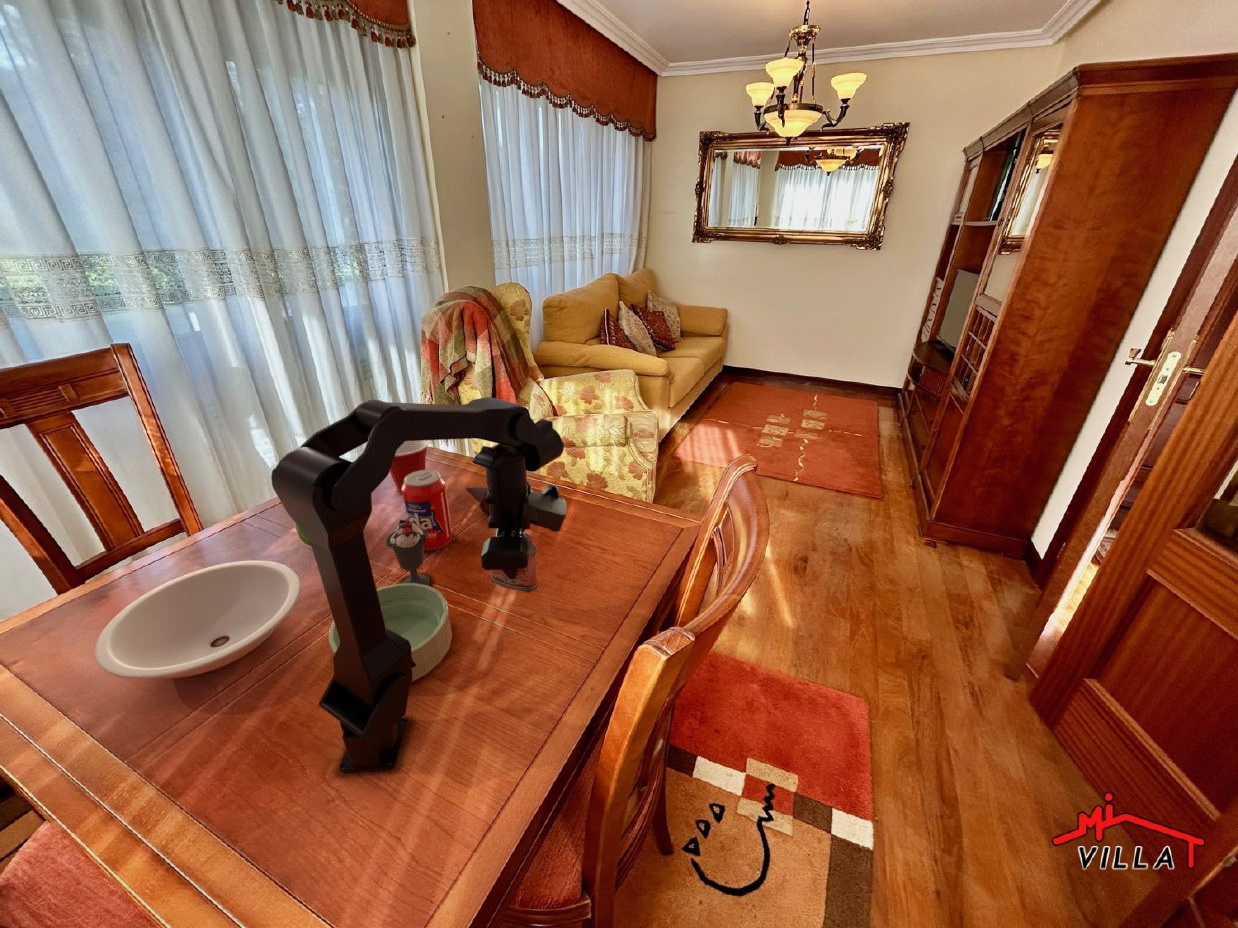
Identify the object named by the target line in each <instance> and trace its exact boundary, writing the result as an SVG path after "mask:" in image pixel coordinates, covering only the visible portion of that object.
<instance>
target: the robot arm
mask: <svg viewBox="0 0 1238 928" xmlns="http://www.w3.org/2000/svg"><path fill="white" fill-rule="evenodd" d="M553 426H554V425H553V421H552V420H550V419H549V420H548V419H545V418H541V419H538V420H537V421H536V422H535V421H534V420H533V419H532V417H531V413H530V409H529V407H527V406H526V405H523V404H519V403H516V402H515V403H514V402H511V401H507V400H503V399H500V398H497V397H496V398H495V397H492V396H491V397H490V396H487V397H481V398H476V399H472V400H470V401H469V402H468V403H464V404H442V403H441V404H439V403H417V402H391V401H390V402H389V401H383V400H380V399H369V400H364V401H363V402H361V403H360V404H358V405H357V406H356V407H355V408H354V409H353V410H352V411H351V412H350V413H348V415H346V416H345V417H343V418H341V419H339V420H337V421H334V422H333V423H331V424H329V425H327V426H325V427H323V428H322V429H320V430H318V431H316V432H314V433H313V434H312V435H311V436H310V437H309V438H308V439H307V440H305V441H304V442H303V443H302V444H301V445H300V446H299V447H298V448H295V449H292V450H291V451H290V452H287V453H286V454H285V455H284V456H283V457H282V458H281V459H280V460H279V461H278V463H277V464H276V466H275V467H274V468H273V469H272V470H271V475H270V478H271V486H272V489H273V491H274V492H275V494H276V496H277V498H278V499H279V501H280V503H281V504H282V506H283V508H284V510H285V511H286V513H287V514H288V516H289V517H290V518H291V519H292V520H293V522H294V523H295V525H296V524H297V525H298V526H299V527H300V529H301V530H302V531H303V532H304V533H305V535H306V536H307V537H308V539H309V540H310V543H311V546H310V547H311V549H312V552H313V556H314V559H315V562H316V566H317V569H318V572H319V576H320V578H321V584H322V585H323V589H324V592H325V596H326V599H327V602H328V606H329V609H330V613H331V616H332V620H333V621H334V623H335V626H336V629H337V633H338V636H339V639H340V644H339V646H338V648H337V650H336V652H335V654H334V657H333V656H332V657H333V658H332V660H333V661H332V663H333V675H332V677H331V679H330V681H329V683H328V685H327V687H326V689H325V690H324V692H323V695H322V696H321V698H320V701H319V702H318V706H319V708H322V709H323V710H324V711H325V712H326V713H328V714H329V715H331V716H332V717H334V718H335V719H336V720H337V721H339V726H340V729H341V732H342V736H341V738H342V741H343V743H344V747H345V751H344V754H343V756H342V759H341V760H340V763H339V766H338V771H339V773H343V774H344V773H354V772H357V773H358V772H368V771H383V770H393V769H394V768H395V767H396V765H397V762H398V760H399V756H400V753H401V749H402V747H403V743H404V741H405V736H406V734H407V730H408V727H409V724H410V721H409V719H408V718H407V717H405V715H406V713H407V708H408V701H409V694H410V688H411V684H412V683H413V682H412V678H413V673H412V668H413V667H415V666H416V664H415V663H414V662H413V660H412V655H411V645H410V642H409V641H408V640H407V639H405V638H403V637H402V636H400V635H398V634H397V633H395V632H393V631H392V630H390V629H388V628H386V626H385V622H384V618H383V614H382V610H381V606H380V601H379V597H378V593H377V589H378V588H377V586H376V585H377V584H376V581H375V577H374V572H373V568H372V564H371V560H370V556H369V552H368V548H367V544H366V539H365V535H364V534H365V533H364V531H365V528H366V526H367V523H368V521H369V519H370V517H371V515H372V513H373V507H372V506H373V504H372V503H373V502H372V494H373V493H374V491H376V489H377V488H378V487H379V486H380V485H381V484H382V483H383V481H385V479H386V478H387V477H388V475H389V474H390V468H391V465H392V463H393V460H394V457H395V454H396V451H397V449H398V448H399V447H400V446H401V445H402V444H403V443H404V442H405V441H421V440H427V441H441V440H442V441H443V440H467V439H468V440H469V439H471V440H472V439H476V440H477V439H478V440H482V441H487V442H490V443H495V445H493V446H490V447H489V446H487V445H486V446H485V445H482V447H481V449H480V450H479V452H477V453H476V454H475V455H474V457H473V458H472V460H471V462H472V463H473V464H474V465H476V466H480V467H483V468H485V477H486V487H487V488H488V492H487V495H486V504H489V509H490V513H489V517H488V521H487V524H488V529H496V528H498V529H497V533H496V537H495V536H490V537H488V538H487V539H486V540H485V542H484V543H483V545H482V550H481V554H480V562H481V569H483V570H484V571H492V570H503V572H504V573H505V574H506V576H507V577H508V578H509V579H516V576H517V570H518V569H524V568H525V567H527V566H528V558H529V546H530V543H529V541H528V540H526V539H525V535H524V534H525V533H524V532H525V531H526V530H530V529H531V525H533V526H535V527H540V528H543V529H547V530H550V531H551V532H553V533H554V532H555V533H558V532H560V531H561V528H562V527H563V523H564V521H565V519H566V516H567V513H568V512H567V511H568V505H567V501H566V500H565V497H564V496H560V490H559V489H560V488H559V486H558V485H555V484H552V483H549V484H548V485H547V486H545V488H543V489H542V490H539V491H538V492H536V491H534V490H533V489H532V484H531V483H529V481H528V475H527V474H528V473H529V472H532V473H534V472H537V471H538V470H540V469H542V468H544V467H545V466H546V465H549V464H550V463H552V462H554V461H555V460H557V459H558V458H560V457H561V456H562V455H563V453H564V450H565V444H564V441H563V439H562V437H561V435H560V434H559V432H558V431H557V430H556V429H555V428H554V427H553ZM362 445H365V447H364V449H363V452H362V453H361V454H360V455H359V456H358V457H357V458H356V459H354V461H350V460H348V459H345V458H343V457H342V456H344V455H346V454H347V453H350V452H352V451H353V450H355V449H357V448H359V447H361V446H362ZM527 472H528V473H527ZM513 531H514V536H513ZM521 533H524V534H521ZM503 534H504V536H503ZM403 717H404V718H403Z"/></svg>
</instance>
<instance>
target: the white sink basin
mask: <svg viewBox="0 0 1238 928" xmlns="http://www.w3.org/2000/svg"><path fill="white" fill-rule="evenodd" d="M300 595H301V581H300V578H299V576H298V575H297V573H296V572H295V571H294V570H293V569H291V567H289V566H288V565H286V564H285V565H284V564H282V563H279V562H275V561H271V560H255V559H254V560H240V561H239V560H238V561H233V562H232V561H231V562H226V563H220V564H216V565H213V566H209V567H205V568H201V569H198V570H196V571H192V572H190V573H187V574H184V575H182V576H179V577H177V578H174V579H172V580H170V581H167V582H166V583H164V584H161V585H159V586H157V587H155V588H154V589H151V590H150V591H148V592H147V593H145V594H143V595H141V596H140V597H138V598H136V599H135V600H133V602H131V603H129V604H128V605H127V606H125V608H123V609H122V610H120V612H119V613H117V614H116V615H115V616H114V617H113V618H112V619H111V620H110V621H109V622H108V623H107V624H106V625H105V627H104V628H103V630H102V631H101V632H100V634H99V636H98V637H97V640H96V643H95V646H94V657H95V661H96V663H97V665H98V667H100V668H101V669H102V670H103V671H104V672H106V673H108V674H110V675H111V676H114V677H118V678H123V679H130V680H152V679H153V680H154V679H178V678H185V677H192V676H196V675H201V674H205V673H207V672H210V671H215V670H217V669H219V668H222V667H225V666H226V665H229V664H231V663H233V662H235V661H237V660H239V659H241V658H242V657H244V656H246V655H247V654H249V653H250V652H252V651H253V650H255V649H256V648H257V647H259V646H260V645H261V644H262V643H263V642H265V640H267V639H268V638H269V637H270V636H271V635H272V634H273V632H275V630H276V629H278V627H279V625H280V624H281V623H282V622H283V621H284V620H285V619H286V618H287V617H288V615H289V614H290V613H291V612H292V610H293V609H294V607H295V606H296V604H297V602H298V600H299V598H300ZM223 637H228V638H229V639H228V641H226V642H225V643H224V644H222V645H219V646H211V645H212V643H213V642H214V641H215V640H218V639H220V638H223Z"/></svg>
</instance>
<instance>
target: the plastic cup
mask: <svg viewBox="0 0 1238 928" xmlns="http://www.w3.org/2000/svg"><path fill="white" fill-rule="evenodd" d="M428 446H429V442H428V440H421V441H405V442H404V443H403V444H402V445H401V446H400V447H399V448H398V449H397V451H396V454H395V457H394V460H393V463H392V465H391V468H390V471H389V474H390V476H391V478H392V481H393V483H394V484H395V487H396V489H397V490H396V491H397V492H398V493H399V495H401V496H403V494H402V485H403V484H404V478H405V477H406V476H407V475H408V474H410V473H412V472H415V471H419V470H426V467H427V466H426V465H427V464H426V463H427V460H426V459H427V450H428Z"/></svg>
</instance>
